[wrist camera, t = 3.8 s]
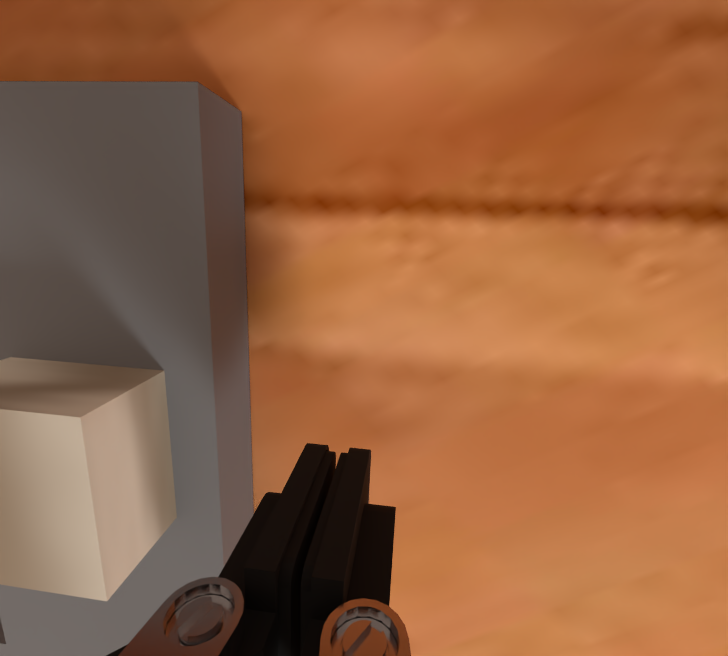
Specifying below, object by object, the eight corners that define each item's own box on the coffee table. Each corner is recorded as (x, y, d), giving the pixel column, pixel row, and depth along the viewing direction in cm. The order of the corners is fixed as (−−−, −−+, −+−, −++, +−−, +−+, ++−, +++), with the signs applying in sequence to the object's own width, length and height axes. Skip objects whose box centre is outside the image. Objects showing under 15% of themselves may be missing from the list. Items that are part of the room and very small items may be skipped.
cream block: (164, 370, 12) (80, 418, 9) (176, 517, 13) (106, 601, 10) (10, 357, 12) (-117, 397, 9) (36, 498, 13) (-69, 573, 10)
